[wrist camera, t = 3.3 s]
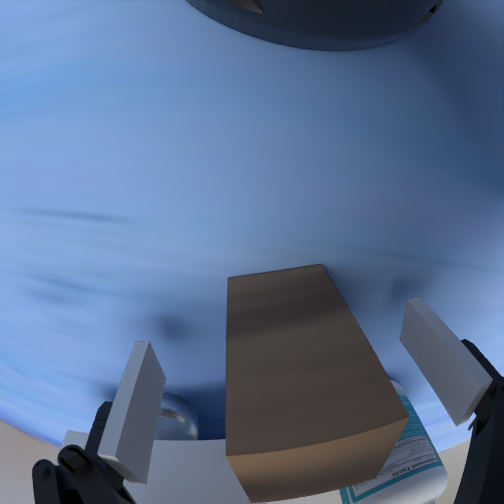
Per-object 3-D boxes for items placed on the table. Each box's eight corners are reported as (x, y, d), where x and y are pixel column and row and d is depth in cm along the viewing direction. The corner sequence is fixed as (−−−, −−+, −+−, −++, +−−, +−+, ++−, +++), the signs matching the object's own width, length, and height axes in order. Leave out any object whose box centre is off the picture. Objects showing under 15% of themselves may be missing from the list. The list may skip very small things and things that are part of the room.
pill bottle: (375, 423, 22) (418, 535, 10) (306, 429, 22) (336, 563, 9) (414, 371, 20) (484, 497, 7) (339, 374, 19) (399, 543, 6)
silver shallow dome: (113, 390, 19) (106, 415, 16) (184, 387, 19) (181, 414, 16) (145, 431, 21) (141, 453, 19) (208, 428, 21) (207, 452, 19)
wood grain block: (227, 277, 15) (225, 456, 6) (321, 263, 15) (409, 416, 6) (259, 427, 21) (270, 534, 12) (318, 417, 21) (345, 520, 12)
